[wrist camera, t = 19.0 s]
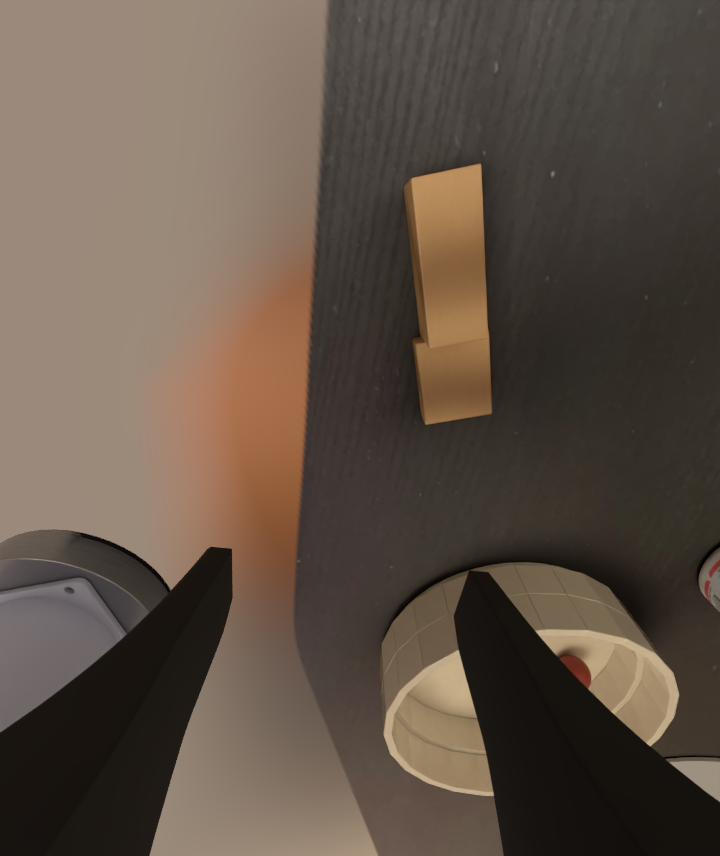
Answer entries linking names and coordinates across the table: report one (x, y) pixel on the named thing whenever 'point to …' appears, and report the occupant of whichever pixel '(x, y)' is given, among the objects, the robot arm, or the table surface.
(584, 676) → the red piece
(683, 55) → the table surface
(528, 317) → the table surface
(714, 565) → the pill bottle
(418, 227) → the tan stepped block
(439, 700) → the bowl
